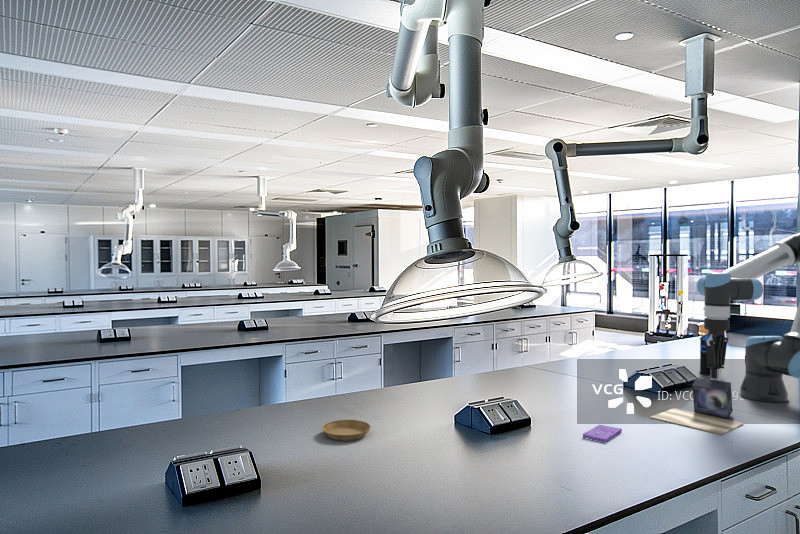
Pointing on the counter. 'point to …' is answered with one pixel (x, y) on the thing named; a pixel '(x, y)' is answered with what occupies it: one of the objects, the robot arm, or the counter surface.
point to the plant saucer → (346, 429)
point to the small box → (712, 397)
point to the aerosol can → (704, 357)
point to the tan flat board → (698, 421)
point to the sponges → (602, 433)
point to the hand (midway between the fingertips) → (715, 387)
